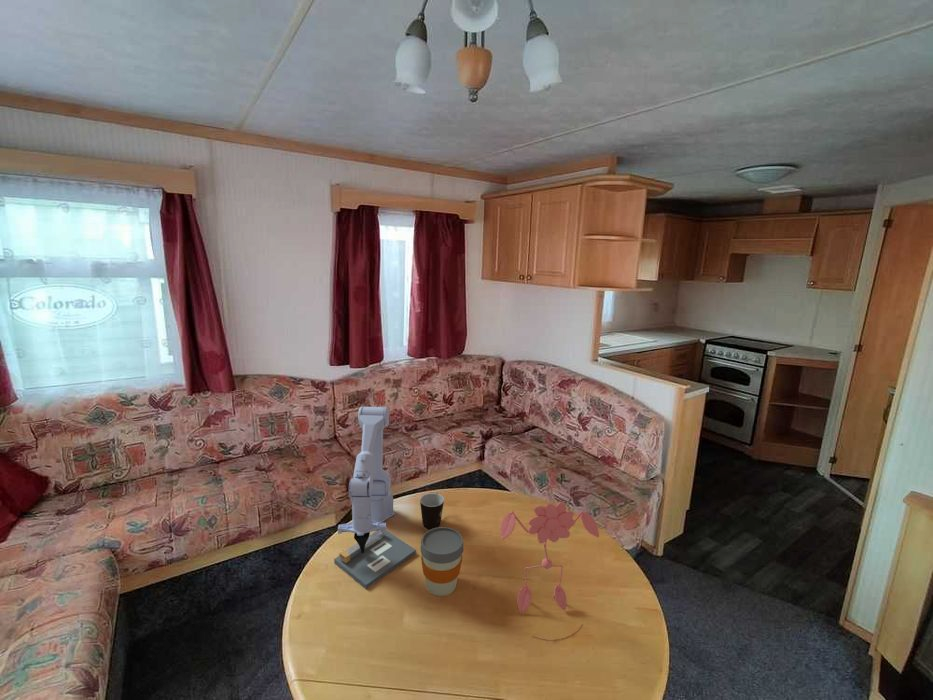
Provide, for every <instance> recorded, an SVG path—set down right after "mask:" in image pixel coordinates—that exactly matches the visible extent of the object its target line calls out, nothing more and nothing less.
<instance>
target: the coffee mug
mask: <svg viewBox="0 0 933 700" xmlns="http://www.w3.org/2000/svg"><path fill="white" fill-rule="evenodd" d="M419 502H420V503H419V504H420V512H421V519H422V520H421V522H422V526H423V528H424V529H426V530H427V531H429V530H431V529H433V528H437V527H441V523H442V517H443V508H444V502H445V498H444V496H443V495H441V494H439V492H430V493H429V492H428V493H426V494H423V495H422V496H421V497H420V498H419Z"/></svg>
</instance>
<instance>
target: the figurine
mask: <svg viewBox="0 0 933 700" xmlns="http://www.w3.org/2000/svg"><path fill="white" fill-rule="evenodd" d="M533 511H534V514H535V515H536V516H533V517H532V518H531V519H529V520H528V525H530V526H529V529H528V528H526V527H525V525H524V524H523V523H522V521H520V519H519V518H518V517H517V515H516V514H515V513H514V511H513V510H511V511H510V512H509V513H506V514H505V516H504V517H503V518H502V520H501V522H500V526H499V527H500V528H499V531H500V536H501V540H502V541H504V540H505V539H507V538H508V537H509V536H510V535H511V534H512V533H513V531H514V530H515V526H516V521H517V522H518V524H519V525H520V526H521V527H522V528H523V530H524V531H525V532H526V533H527V534H528V533H529V534H530V535H535V534H537V541H538V543H539V544H543V549H544V552H545V558H543V559H542V561H541V565H533V566H526V567H525V568H524V579H525V580H524V583H525V584H524V585H523V586H522V587H521V588H520V590H519V591H518V595H517V597H516V598H517V602H516V603H517V606H518V610H519V613H520V614H521V615H522V614H523V613H525V611H526V610H527V609H529V607H530V605H531V602H532V596H533V595H532V590H531V588H530V586H529V585H528V583H527V582H528V581H527V569H534V568H544V569H545V570H549V569H551V568H552V567H559V568H560V576H559V582H558V584H556V585H555V587H554V589H553V591H554V592H553V593H554V594H553V597H552V598H554V597H555V598H554V600H555V602H556V604H557V606H558V607H559V608H560V609H562V610H563V611H566V609H567V594H566V592H565V590H564V589H563V587H562V586H561V581H562V575H563V568H564V567H563V565H562V564H561V565H560V564H553V562H552V560H551V559H550V558H549V556H548V551H547V550H548V549H547V541H548V540H549V541H550V542H552V543H556V542H558V541H559V539H568V538H569V537H570V536H571V532H570V531H569V530H570V529H571V528H572V527H573V526H575V525H576V522H577V520H578V519H579V518H580V520H581V523H582V526H583V527H584V529H585V530H586V531H587V532H588V533H589V534H590V535H592V536H595V537H597V538H600V533H599V528H598V525H597V523H596V521H595V519H594V518H593V517H592V515H590V514H589V513H588V512H585V511H583V510H579V513H578V515H577V516H576V517H575V518H574V511H572V510H569V511H567V505H566V503H565V501H560V502H558V503H557V504H556V505H555V504H552V503H547V504H546V506H543V505H537V506H535V507H534V509H533ZM573 518H574V519H573ZM576 634H577V633H575V632H573V633H572V634H571V635H568V636H566V637H563V638H560V639H556V640H555V643H556V642H558V641H559V640H564V639H566V638H569V637H571V636H572V635H574V636H576ZM531 637H532V638H534V639H535V638H536V639H539V640H541V638H539V637H536V636H531ZM542 640H544V641H546V639H544V638H542Z"/></svg>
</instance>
